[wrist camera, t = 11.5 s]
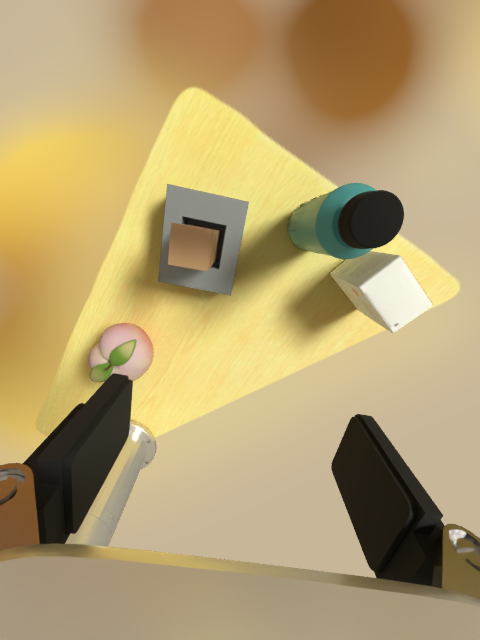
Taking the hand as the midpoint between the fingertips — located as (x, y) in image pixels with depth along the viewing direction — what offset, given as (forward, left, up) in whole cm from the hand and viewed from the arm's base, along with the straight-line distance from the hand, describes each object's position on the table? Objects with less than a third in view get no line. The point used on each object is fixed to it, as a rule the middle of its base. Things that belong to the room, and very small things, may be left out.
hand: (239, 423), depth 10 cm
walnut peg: (+5, +6, -29) cm, 30 cm away
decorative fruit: (-13, +15, -31) cm, 36 cm away
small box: (+4, -18, -31) cm, 36 cm away
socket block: (+5, +6, -30) cm, 31 cm away
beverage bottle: (+10, -8, -31) cm, 33 cm away
